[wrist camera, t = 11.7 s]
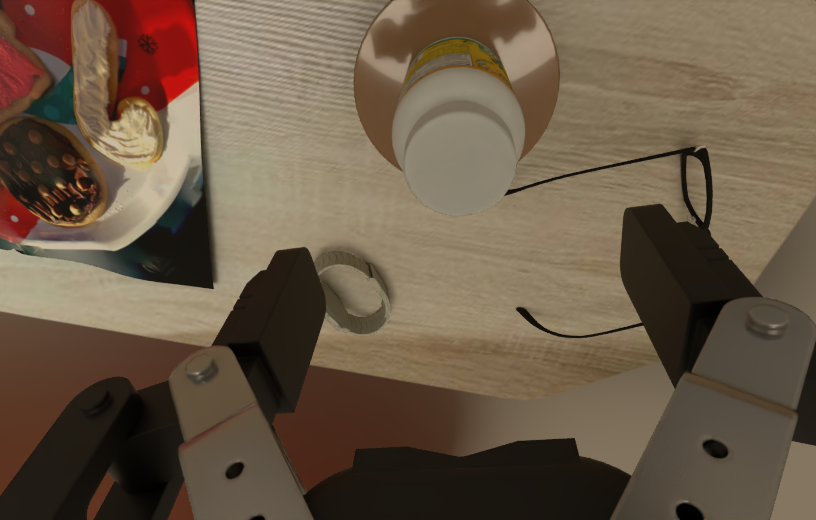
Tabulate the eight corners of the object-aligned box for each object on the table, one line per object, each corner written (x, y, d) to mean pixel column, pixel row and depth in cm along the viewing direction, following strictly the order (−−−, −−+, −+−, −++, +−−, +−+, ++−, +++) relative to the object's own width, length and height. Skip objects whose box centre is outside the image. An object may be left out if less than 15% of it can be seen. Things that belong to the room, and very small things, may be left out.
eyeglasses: (691, 290, 44) (711, 320, 40) (519, 322, 47) (524, 351, 44) (694, 120, 35) (719, 140, 32) (482, 174, 39) (486, 197, 35)
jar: (362, -20, 31) (329, -1, 23) (526, -56, 30) (559, -50, 21) (394, 134, 37) (377, 197, 28) (532, 112, 36) (561, 171, 27)
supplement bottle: (390, 52, 24) (362, 112, 16) (498, 20, 23) (524, 67, 15) (419, 151, 27) (407, 244, 19) (515, 127, 25) (546, 215, 18)
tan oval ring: (300, 259, 45) (285, 292, 41) (355, 232, 43) (346, 264, 39) (354, 324, 49) (346, 359, 45) (407, 302, 47) (403, 338, 43)
